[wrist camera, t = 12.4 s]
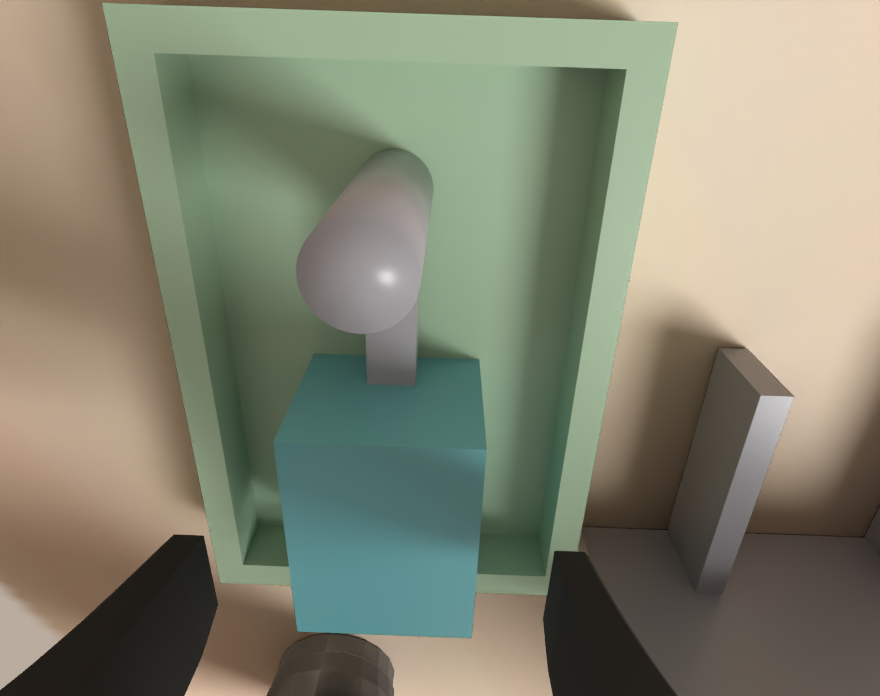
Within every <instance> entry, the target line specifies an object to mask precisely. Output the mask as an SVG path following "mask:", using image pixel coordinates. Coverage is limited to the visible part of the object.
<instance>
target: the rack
mask: <svg viewBox="0 0 880 696" xmlns="http://www.w3.org/2000/svg"><path fill="white" fill-rule="evenodd" d="M793 399H794V396H793V395H792V394H791V393H790V392H789V391H788V390H787V389H786V388H785V387H784V386H783V385H782V384H781V383H780V381H779V380H778V379H777V378H776V377H775V376H774V375H773V374H772V373H771V372H770V371H769V370H768V369H767V368H766V367H765V366H764V365H763V364H762V363H761V362H760V361H759V360H758V359H757V358H756V357H755V356H754V355H753V354H752V353H751V352H750V351H749V350H748V349H742V348H718V352H717V355H716V359H715V362H714V366H713V369H712V373H711V377H710V380H709V384H708V387H707V391H706V394H705V398H704V401H703V405H702V408H701V412H700V416H699V419H698V423H697V426H696V430H695V433H694V437H693V440H692V444H691V448H690V451H689V455H688V458H687V462H686V465H685V469H684V472H683V476H682V480H681V483H680V487H679V490H678V494H677V497H676V501H675V504H674V508H673V511H672V515H671V519H670V522H669V526H668V529H667V530H650V529H624V528H597V527H582V530H581V535H580V540H579V545H578V548H579V552H585V553H586V554H587V555H588V556H589V558H590V560H591V561H592V563H593V565H594V567H595V569H596V571H597V573H598V574H599V576H600V578H601V580H602V581H603V583H604V585H605V587H606V588H607V590H608V592H609V594H610V595H611V597H612V599H613V600H614V602H615V604H616V605H617V607H618V609H619V610H620V612H621V613H622V615H623V617H624V618H625V620H626V621H627V623H628V625H629V626H630V628H631V629H632V631H633V632H634V634H635V635H636V637H637V638H638V640H639V641H640V643H641V644H642V646H643V647H644V649H645V650H646V652H647V653H648V655H649V656H650V658H651V659H652V661H653V662H654V663H655V665H656V666H657V668H658V669H659V671H660V672H661V673H662V675H663V676H664V678H665V679H666V680H667V682H668V683H669V684H670V686H671V687H672V688H673V690H674V691H675V693H676V694H677V695H678V696H880V507H879V509H878V511H877V513H876V515H875V517H874V519H873V521H872V523H871V525H870V527H869V529H868V531H867V533H866V535H865V537H864V538H860V537H833V536H807V535H781V534H755V533H745V531H746V528H747V525H748V523H749V520H750V517H751V514H752V512H753V509H754V506H755V503H756V501H757V498H758V495H759V493H760V490H761V487H762V484H763V482H764V479H765V476H766V473H767V471H768V468H769V465H770V462H771V460H772V457H773V454H774V451H775V449H776V446H777V443H778V440H779V438H780V435H781V432H782V429H783V427H784V424H785V421H786V419H787V416H788V413H789V410H790V408H791V405H792V402H793Z"/></svg>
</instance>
